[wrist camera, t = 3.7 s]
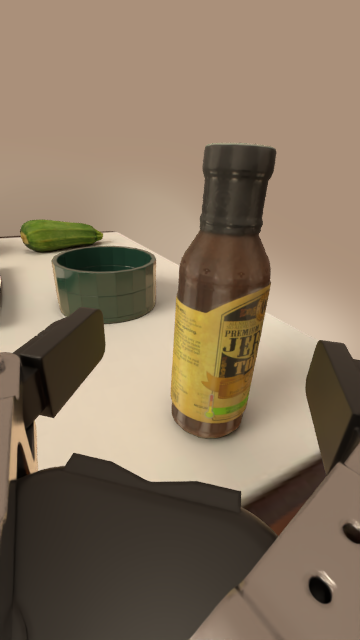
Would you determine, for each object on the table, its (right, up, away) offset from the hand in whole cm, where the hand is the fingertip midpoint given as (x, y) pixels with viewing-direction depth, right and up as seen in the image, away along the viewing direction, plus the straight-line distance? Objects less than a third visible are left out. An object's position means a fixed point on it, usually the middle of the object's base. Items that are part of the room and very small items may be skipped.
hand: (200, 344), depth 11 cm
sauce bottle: (+2, -7, +14) cm, 16 cm away
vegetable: (-29, +19, +63) cm, 72 cm away
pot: (-12, +4, +34) cm, 36 cm away
